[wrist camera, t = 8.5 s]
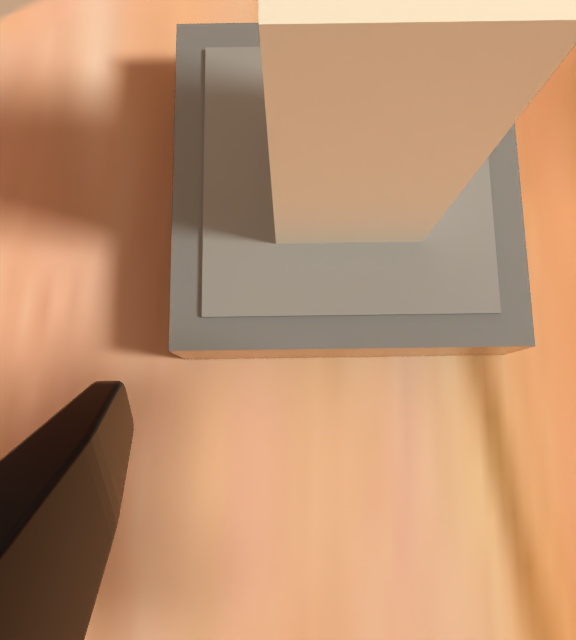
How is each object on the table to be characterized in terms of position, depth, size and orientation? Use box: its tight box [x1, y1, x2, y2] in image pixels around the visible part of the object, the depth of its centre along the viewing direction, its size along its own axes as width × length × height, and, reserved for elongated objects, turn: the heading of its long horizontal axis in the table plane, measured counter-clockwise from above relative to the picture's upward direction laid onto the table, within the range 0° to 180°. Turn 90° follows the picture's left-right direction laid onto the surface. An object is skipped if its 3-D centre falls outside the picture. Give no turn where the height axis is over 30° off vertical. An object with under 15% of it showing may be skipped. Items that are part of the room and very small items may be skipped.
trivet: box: [169, 23, 535, 359], centre depth 18 cm, size 11×11×3 cm
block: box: [259, 0, 576, 244], centre depth 12 cm, size 4×4×10 cm
